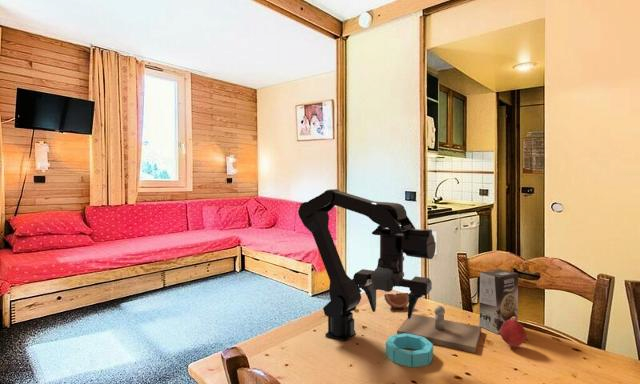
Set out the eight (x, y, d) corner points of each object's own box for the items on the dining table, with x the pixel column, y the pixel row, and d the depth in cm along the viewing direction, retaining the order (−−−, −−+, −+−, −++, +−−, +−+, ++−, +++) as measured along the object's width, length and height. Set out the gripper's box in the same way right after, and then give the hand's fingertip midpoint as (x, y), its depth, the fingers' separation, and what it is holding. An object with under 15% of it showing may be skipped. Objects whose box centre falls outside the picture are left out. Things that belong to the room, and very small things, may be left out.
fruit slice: (386, 311, 115) (386, 296, 115) (381, 304, 122) (381, 290, 122) (411, 310, 116) (411, 295, 116) (405, 303, 123) (405, 289, 123)
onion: (501, 350, 89) (502, 319, 88) (498, 340, 94) (499, 311, 94) (528, 354, 87) (528, 322, 86) (523, 344, 92) (523, 314, 92)
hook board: (396, 335, 97) (396, 307, 97) (411, 318, 110) (411, 293, 109) (475, 353, 87) (475, 321, 87) (481, 331, 99) (481, 304, 99)
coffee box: (498, 334, 98) (498, 277, 97) (478, 326, 103) (478, 271, 103) (518, 328, 102) (519, 273, 101) (498, 320, 108) (499, 268, 107)
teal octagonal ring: (381, 359, 85) (381, 347, 85) (395, 341, 94) (395, 330, 94) (425, 371, 79) (425, 358, 79) (436, 351, 89) (436, 339, 88)
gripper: (343, 255, 86) (343, 318, 86) (420, 265, 76) (420, 335, 77) (361, 247, 95) (361, 304, 96) (432, 255, 86) (431, 318, 87)
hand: (391, 314), depth 89 cm, fingers open, 9 cm apart
